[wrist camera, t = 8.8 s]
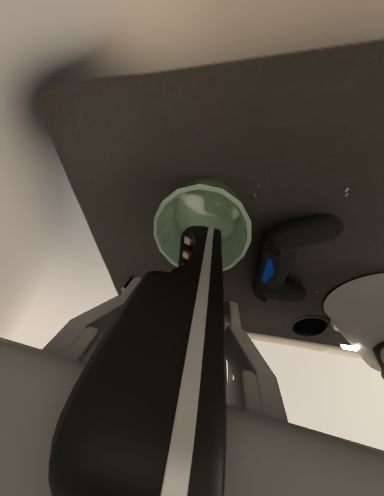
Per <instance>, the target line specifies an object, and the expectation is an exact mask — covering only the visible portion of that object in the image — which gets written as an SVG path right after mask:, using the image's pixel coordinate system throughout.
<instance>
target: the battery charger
mask: <svg viewBox="0 0 384 496" xmlns="http://www.w3.org/2000/svg"><path fill="white" fill-rule="evenodd" d="M225 465H226V358H225V318H224V289H223V267H222V240H221V231H220V230H219V229H216V228H214V227H211V226H209V227H205V226H190V227H188V228H186V229H185V230H184V231H183V233H182V236H181V242H180V253H179V264H178V267H177V268H175V269H173V270H172V272H171V273H169V272H162V271H151V272H148V273H147V274H145V275H144V276H143V278H142V279H141V280H140V282H139V283H138V284H137V286H136V287H135V288H134V290H133V291H132V292H131V293H130V295H129V296H128V298H127V300H126V301H125V303H124V304H123V306H122V307H121V309H120V310H119V312H118V314H117V315H116V317H115V318H114V320H113V322H112V323H111V325H110V326H109V328H108V330H107V331H106V333H105V334H104V336H103V338H102V339H101V341H100V343H99V344H98V346H97V347H96V349H95V351H94V352H93V354H92V356H91V357H90V359H89V361H88V362H87V364H86V366H85V367H84V369H83V371H82V373H81V374H80V376H79V378H78V380H77V382H76V383H75V385H74V387H73V389H72V391H71V393H70V395H69V397H68V399H67V401H66V403H65V405H64V407H63V410H62V412H61V414H60V416H59V419H58V422H57V425H56V428H55V431H54V435H53V438H52V444H51V451H50V458H49V473H48V482H49V486H50V490H51V494H52V496H224V486H225Z"/></svg>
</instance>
